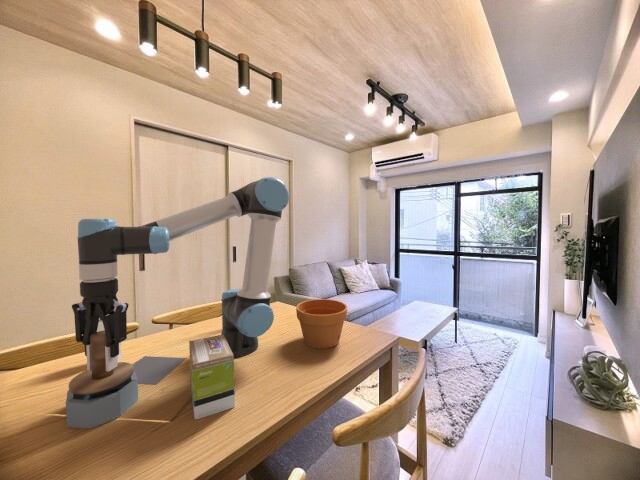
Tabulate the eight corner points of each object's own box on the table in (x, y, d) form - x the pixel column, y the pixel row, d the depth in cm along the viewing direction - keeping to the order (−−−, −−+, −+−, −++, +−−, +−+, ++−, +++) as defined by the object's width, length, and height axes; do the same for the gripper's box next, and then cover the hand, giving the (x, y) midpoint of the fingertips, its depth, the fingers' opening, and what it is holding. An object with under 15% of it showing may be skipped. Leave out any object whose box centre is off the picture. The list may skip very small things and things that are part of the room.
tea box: (189, 388, 78) (188, 339, 77) (225, 379, 83) (224, 332, 82) (193, 422, 65) (192, 362, 64) (235, 408, 70) (235, 353, 69)
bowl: (149, 392, 76) (148, 371, 76) (106, 429, 62) (105, 404, 62) (103, 389, 77) (102, 369, 77) (51, 426, 63) (49, 401, 63)
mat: (187, 359, 95) (187, 357, 95) (156, 385, 79) (156, 384, 79) (144, 357, 96) (144, 356, 96) (105, 383, 80) (105, 382, 80)
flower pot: (332, 358, 96) (332, 317, 95) (285, 345, 106) (285, 308, 106) (354, 337, 114) (355, 303, 114) (313, 327, 125) (313, 296, 124)
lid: (145, 366, 75) (143, 325, 74) (104, 395, 62) (102, 345, 62) (101, 364, 76) (100, 323, 75) (53, 393, 63) (50, 343, 62)
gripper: (142, 277, 71) (145, 362, 72) (81, 275, 72) (85, 359, 73) (119, 283, 63) (122, 378, 65) (52, 281, 65) (56, 374, 66)
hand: (102, 368), depth 69 cm, fingers closed on lid, 4 cm apart
